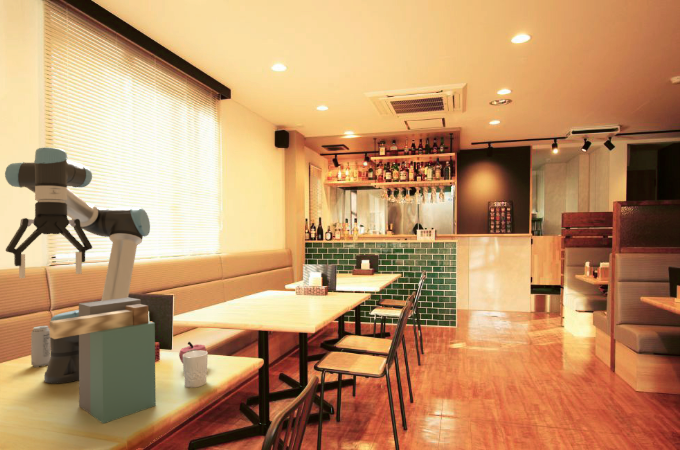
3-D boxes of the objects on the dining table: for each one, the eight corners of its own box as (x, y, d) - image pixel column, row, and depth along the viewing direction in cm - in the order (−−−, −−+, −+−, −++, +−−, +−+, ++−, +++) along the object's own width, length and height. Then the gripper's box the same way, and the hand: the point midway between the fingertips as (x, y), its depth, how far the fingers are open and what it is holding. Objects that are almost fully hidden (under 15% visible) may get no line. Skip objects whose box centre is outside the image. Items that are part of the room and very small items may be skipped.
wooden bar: (55, 339, 100) (55, 319, 100) (48, 336, 104) (48, 316, 104) (148, 322, 117) (148, 305, 118) (139, 320, 121) (139, 303, 121)
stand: (103, 423, 106) (102, 309, 107) (79, 406, 118) (78, 303, 118) (155, 405, 117) (154, 302, 118) (129, 391, 128) (128, 297, 129)
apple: (177, 374, 143) (177, 346, 144) (181, 366, 152) (180, 340, 152) (205, 371, 146) (205, 343, 146) (207, 364, 154) (207, 338, 154)
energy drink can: (37, 363, 160) (37, 325, 161) (53, 362, 161) (53, 325, 161) (27, 368, 154) (27, 329, 155) (44, 367, 155) (44, 328, 155)
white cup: (200, 389, 129) (199, 357, 129) (178, 387, 130) (177, 356, 131) (212, 380, 136) (212, 350, 137) (191, 379, 138) (191, 350, 138)
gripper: (-2, 198, 104) (-2, 280, 103) (103, 203, 123) (104, 272, 122) (-8, 200, 108) (-8, 279, 108) (94, 204, 128) (95, 271, 127)
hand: (51, 275), depth 115 cm, fingers open, 13 cm apart
